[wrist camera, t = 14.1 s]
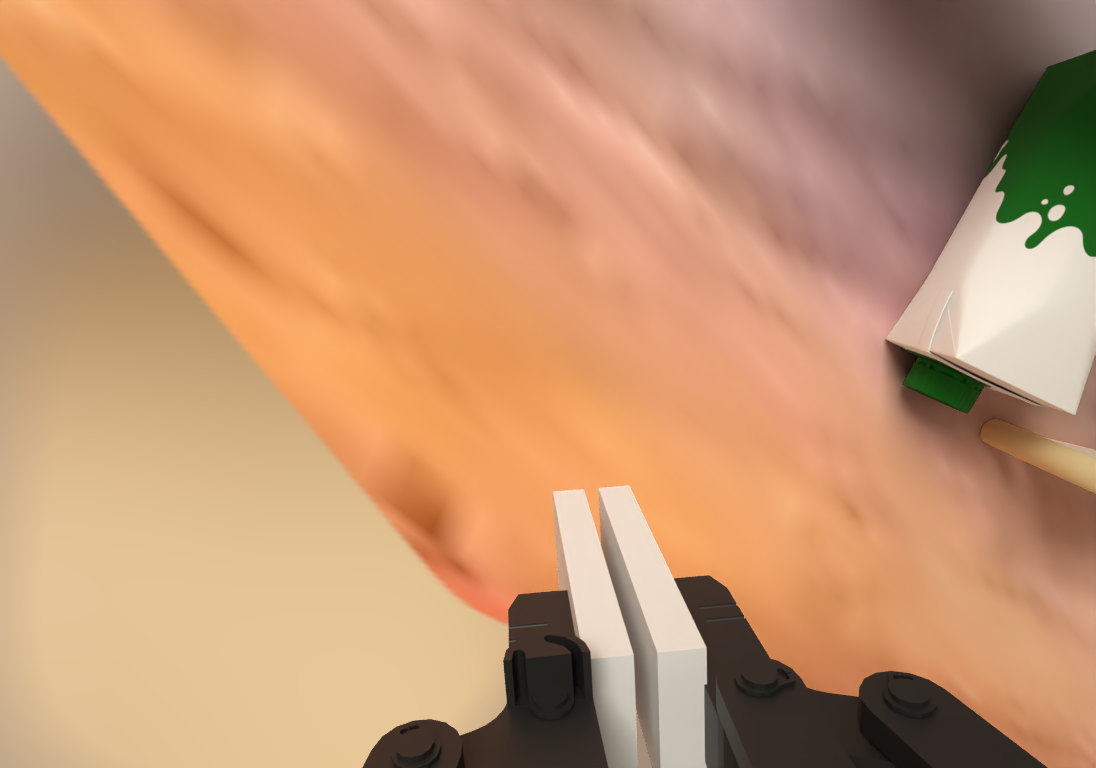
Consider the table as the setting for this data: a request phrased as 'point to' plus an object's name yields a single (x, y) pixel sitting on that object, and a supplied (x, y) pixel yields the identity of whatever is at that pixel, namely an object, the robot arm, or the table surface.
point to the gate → (1077, 448)
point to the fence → (1042, 453)
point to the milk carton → (1019, 264)
